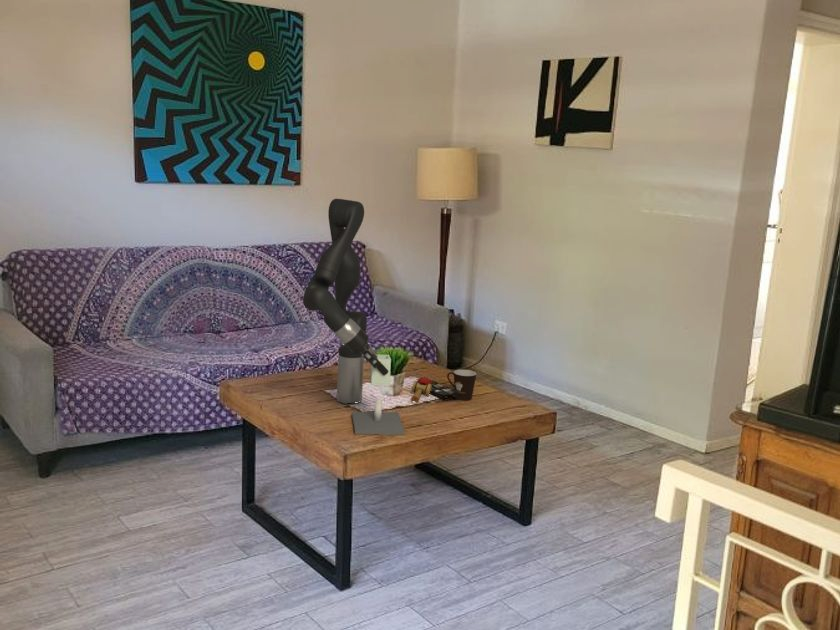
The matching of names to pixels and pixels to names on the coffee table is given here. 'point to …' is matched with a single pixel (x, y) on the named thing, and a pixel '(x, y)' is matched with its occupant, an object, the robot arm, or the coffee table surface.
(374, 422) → the hub stand
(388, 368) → the collar
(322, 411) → the coffee table surface
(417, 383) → the kendama
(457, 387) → the coffee mug
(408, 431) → the coffee table surface
